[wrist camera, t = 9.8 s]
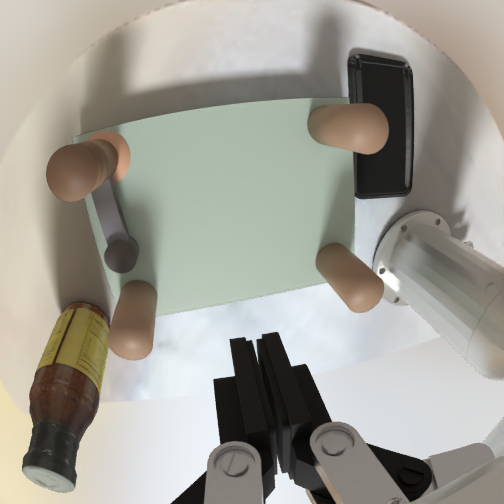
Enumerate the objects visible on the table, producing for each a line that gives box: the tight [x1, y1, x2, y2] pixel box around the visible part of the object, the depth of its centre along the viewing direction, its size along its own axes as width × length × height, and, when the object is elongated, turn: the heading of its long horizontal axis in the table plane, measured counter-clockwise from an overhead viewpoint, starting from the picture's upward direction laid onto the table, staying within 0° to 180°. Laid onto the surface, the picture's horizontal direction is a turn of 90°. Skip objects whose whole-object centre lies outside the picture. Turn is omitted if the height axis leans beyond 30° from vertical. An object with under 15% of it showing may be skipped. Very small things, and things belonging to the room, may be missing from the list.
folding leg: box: [46, 139, 139, 274], centre depth 21 cm, size 11×4×7 cm, turn 9°
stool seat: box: [72, 97, 389, 360], centre depth 25 cm, size 24×18×9 cm
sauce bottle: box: [22, 302, 110, 493], centre depth 22 cm, size 7×6×20 cm
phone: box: [348, 54, 414, 199], centre depth 29 cm, size 8×1×15 cm
